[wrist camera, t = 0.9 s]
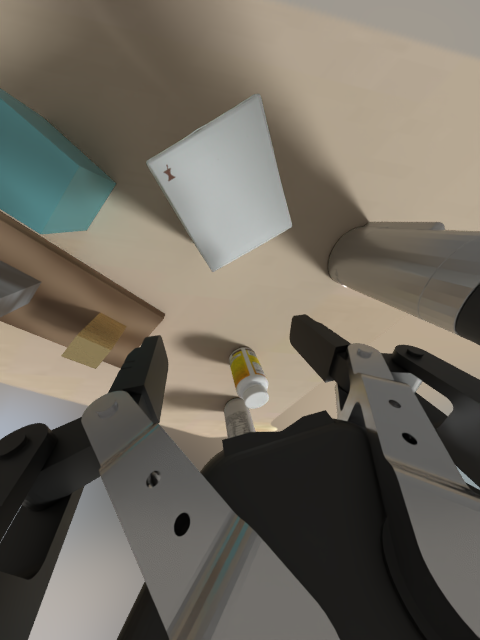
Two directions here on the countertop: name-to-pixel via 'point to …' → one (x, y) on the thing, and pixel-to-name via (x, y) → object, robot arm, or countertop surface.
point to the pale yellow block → (95, 341)
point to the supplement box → (225, 184)
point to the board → (64, 293)
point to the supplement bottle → (249, 377)
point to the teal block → (46, 173)
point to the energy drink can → (237, 418)
